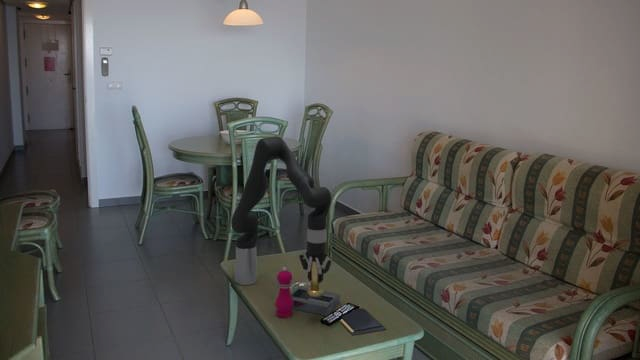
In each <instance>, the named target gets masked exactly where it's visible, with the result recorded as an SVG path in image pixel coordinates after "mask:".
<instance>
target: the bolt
mask: <svg viewBox="0 0 640 360" xmlns="http://www.w3.org/2000/svg"><path fill="white" fill-rule="evenodd" d="M318 274H319V271H318V268H317V263H316V261H312V265H311V281H310V286H308V287H306V288H307V295H308V296H311V297H320V296H322V295H323V291H324V288H323V287H322V286H320V284H321V283H318Z"/></svg>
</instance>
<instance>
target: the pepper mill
mask: <svg viewBox="0 0 640 360" xmlns="http://www.w3.org/2000/svg"><path fill="white" fill-rule="evenodd" d="M276 280H277V281H278V284H277V285H278V288H279V292H278V295H277V296H276V299H275V303H274V304H275V308H276V316H278V317H279V318H285V319H286V318H289V317H292V315H293V309H292V307H293V299H292V297H291V289H290V288H291V286H292V283H291V282H292V280H293V275H292V272H290V271H289V270H288V269H287V267H285V266H283V267H282V270H281V271H279V272H278V273H277V276H276Z"/></svg>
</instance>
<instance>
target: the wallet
mask: <svg viewBox="0 0 640 360" xmlns="http://www.w3.org/2000/svg"><path fill="white" fill-rule="evenodd" d="M355 309H356V310H354V309H352V310H353V311H352V312H350V313H348V314H346V315H344V316H342V319H341V320H340V321H341V322H342V323H340V324H341V326H342V325H343V326H342V327H343V328H344V329H345V330H346V331H347V332H348V333H349V334H350V335H351V336H352V337H353V336H362V335H365V334H366V335H367V334H371V333H378V332H384V331H386V330H387V328H386V327H385V326H384V325H383V324H382V323H381V322H379V321H378V319H376V318H375V317H374V316H373V315H372V314H371V313H370V312H369V311H368V310H367V309H366V308H363V307H362V308H355Z"/></svg>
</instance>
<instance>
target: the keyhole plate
mask: <svg viewBox="0 0 640 360" xmlns="http://www.w3.org/2000/svg"><path fill="white" fill-rule="evenodd" d="M307 288H308V287H305V286H301V285H299V286H298V287H297V288H296V289H295V290H293V291H292V292H290V294H291V297H292V299H293V307H292V310H297V311H302V312H307V313H312V314H317V315H321V316H325V317H327V316H328V315H330V313H331V312H332V311H333V310H334V309H335V308H336V307H338V305H339V304H340V303H341V293H336V292H331V291H327V290H326V291H325V290H323V295H322V296H320V297H311V296H308V295H307Z"/></svg>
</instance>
